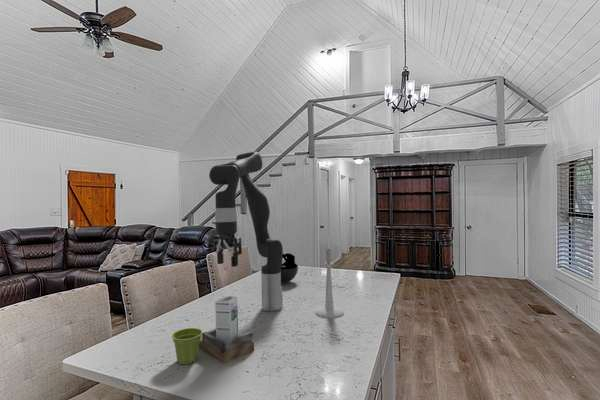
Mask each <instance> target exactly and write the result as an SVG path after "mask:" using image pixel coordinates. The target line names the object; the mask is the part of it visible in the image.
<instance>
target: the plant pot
mask: <svg viewBox="0 0 600 400" xmlns="http://www.w3.org/2000/svg"><path fill="white" fill-rule="evenodd" d="M202 333H203V330H202V329H201V328H197V327H187V328H182V329H178V330H177V331H174V332H173V333H172V334H171V339H172V340H173V343H174V348H175V356H176V362H177V363H178V364H179V365H189V364H191V363H195V362H196V361H197V360H198V358H199V356H198V355H199V350H200V349H199V342H200V338H201V335H202Z"/></svg>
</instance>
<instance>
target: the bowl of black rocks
mask: <svg viewBox="0 0 600 400" xmlns="http://www.w3.org/2000/svg"><path fill="white" fill-rule="evenodd" d="M295 257H296V256H295V255H294V254H292V253H283V255H282V259H284V261H285V262H282V267H281V284H286V283H290V282H291V281H292V280H293V279H294V278H295V277H296V276H297V273H298V270H299V266H298V264H297V263H296V258H295Z"/></svg>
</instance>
